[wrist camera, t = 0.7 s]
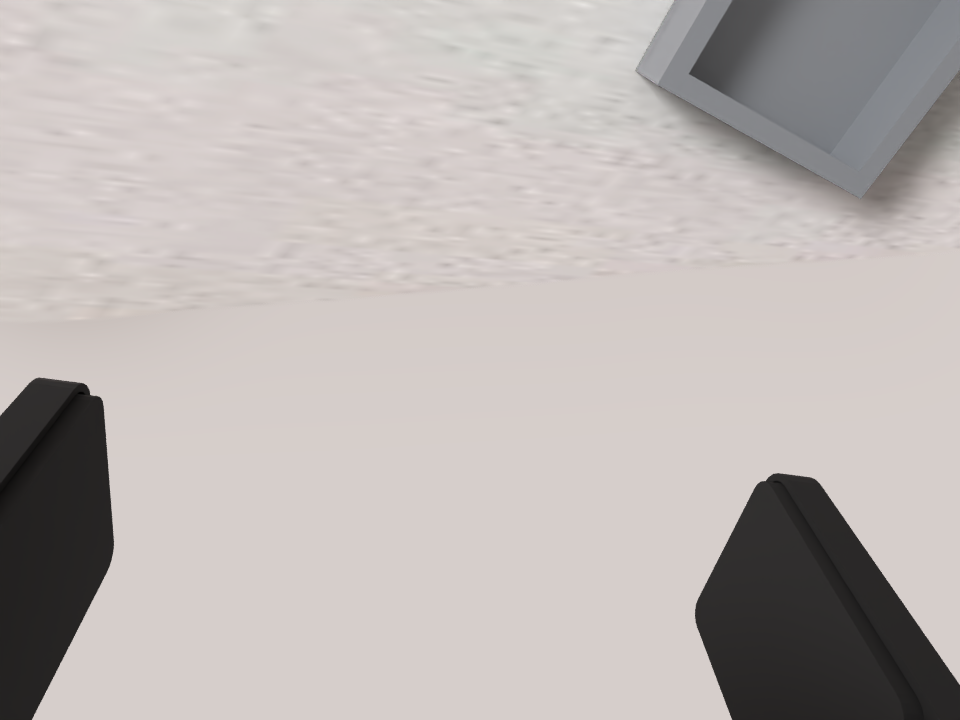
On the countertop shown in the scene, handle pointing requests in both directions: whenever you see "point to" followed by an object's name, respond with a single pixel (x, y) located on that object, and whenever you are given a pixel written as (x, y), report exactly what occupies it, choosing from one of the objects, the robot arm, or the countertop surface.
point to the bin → (812, 74)
